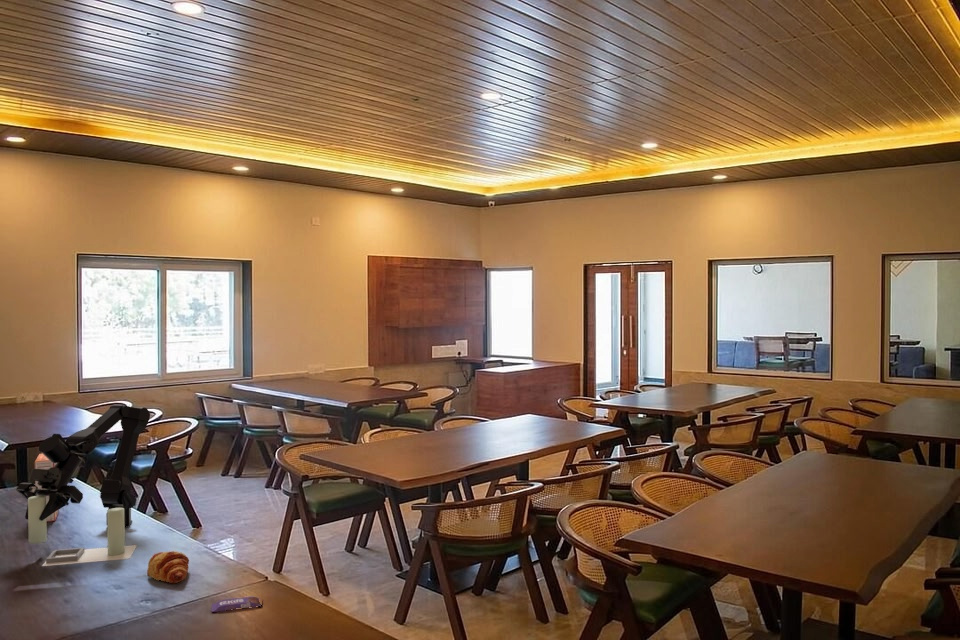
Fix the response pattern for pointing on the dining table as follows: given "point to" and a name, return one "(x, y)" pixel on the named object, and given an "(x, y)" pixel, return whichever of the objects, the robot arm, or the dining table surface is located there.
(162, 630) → the dining table surface
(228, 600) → the snack package
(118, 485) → the robot arm
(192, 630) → the dining table surface
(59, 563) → the base plate
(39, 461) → the cracker box
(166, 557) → the croissant
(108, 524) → the fixed pillar
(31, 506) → the pillar
